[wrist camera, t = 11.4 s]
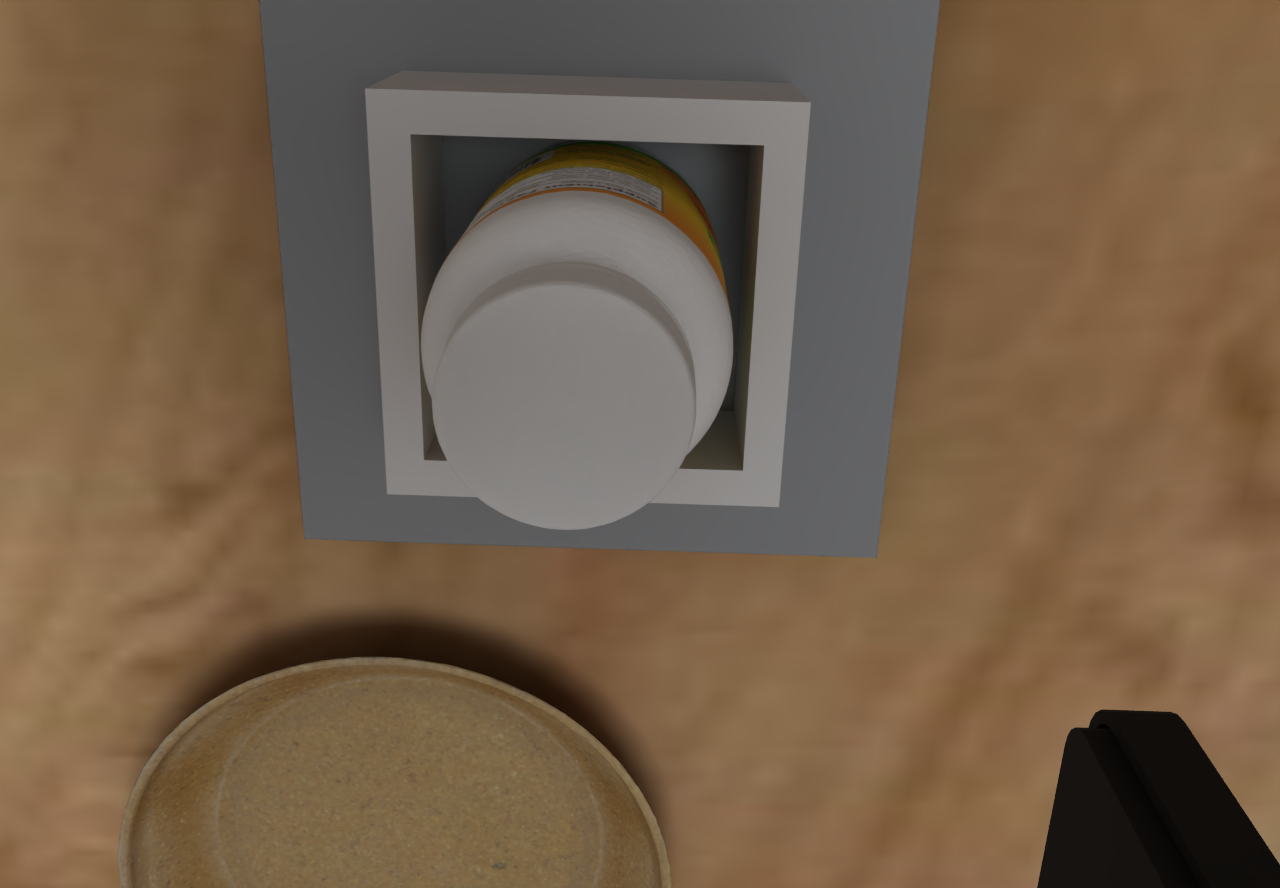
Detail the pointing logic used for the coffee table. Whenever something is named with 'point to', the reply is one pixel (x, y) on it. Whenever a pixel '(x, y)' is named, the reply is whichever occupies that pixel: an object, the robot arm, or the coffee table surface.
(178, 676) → the coffee table surface
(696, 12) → the bottle holder
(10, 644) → the coffee table surface
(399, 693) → the plant saucer
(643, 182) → the supplement bottle
